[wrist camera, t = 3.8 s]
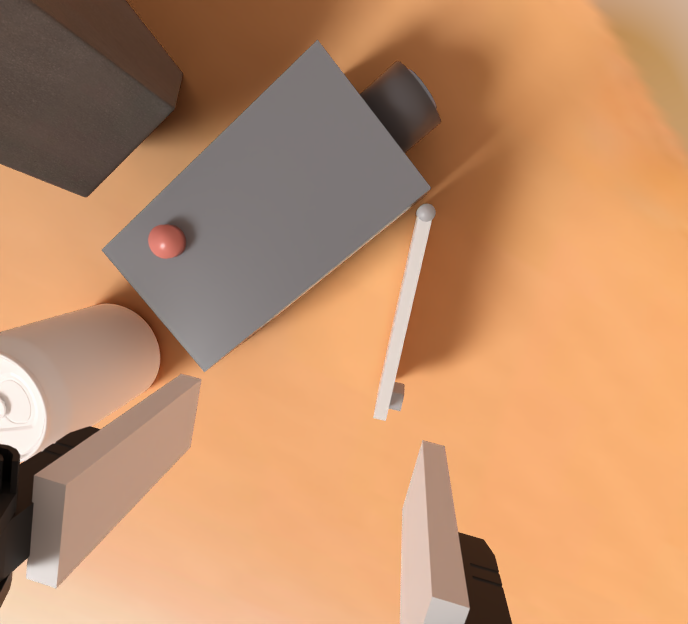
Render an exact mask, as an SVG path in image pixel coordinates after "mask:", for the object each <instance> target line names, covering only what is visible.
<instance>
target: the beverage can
mask: <svg viewBox="0 0 688 624" xmlns="http://www.w3.org/2000/svg"><path fill="white" fill-rule="evenodd" d="M159 366H160V350H159V345H158V342H157V339H156V337H155V335H154V333H153V331H152V329H151V328H150V327H149V325H148V324H147V323H146V322H145V321H144V320H143V319H142V318H141V317H140V316H139V315H138V314H136V313H135V312H133V311H132V310H130V309H128V308H126V307H123V306H120V305H116V304H99V305H95V306H91V307H87V308H84V309H80V310H77V311H73V312H70V313H66V314H63V315H59V316H55V317H52V318H48V319H45V320H41V321H38V322H34V323H31V324H27V325H23V326H20V327H16V328H13V329H9V330H6V331H2V332H0V444H4V445H9V446H11V447H13V448H16V449H17V450H18V452H19V453H20V462H22V461H26V460H28V459H29V458H31V457H32V456H34V455H35V454H37V453H39V452H40V451H42V452H43V450H44V449H45V448H46V447H48V446H50V445H51V444H55V443H56V441H57V440H59V439H61V438H62V437H64V436H65V435H67V434H68V433H70V432H73V431H76V430H79V429H82V428H85V427H88V426H91V427H92V426H93V425H95V424H96V423H98V422H99V421H101V420H102V419H104V418H105V417H107V416H108V415H110V414H111V413H113V412H114V411H116V410H117V409H119V408H121V407H122V406H124V405H125V404H127V403H128V402H130V401H131V400H133V399H134V398H136V397H137V396H139V395H140V394H142V393H143V392H144V391H146V390H147V389H148V388H149V387H150V386H151V385H152V383H153V382H154V380H155V378H156V376H157V374H158V371H159Z"/></svg>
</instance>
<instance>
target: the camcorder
mask: <svg viewBox="0 0 688 624" xmlns="http://www.w3.org/2000/svg"><path fill="white" fill-rule="evenodd" d="M436 108H437V107H436V103H435V101H434V99H433V97H432V96H431V94H430V92H429V91H428V89H427V88H426V86H425V85H424V83H423V82H422V81H421V80H420V78H419V77H418V76H417V75H416V74H415V73H414V72H413V71H412V70H410V69H407V68H406V67H405V66H404V65H403V64H402V63H401V62H399V61H396V62H395V63H394V64H393V65H392V66H390V67H389V68H388V69H387V70H386V71H385V72H384V73H383V74H382V75H381V76H380V77H378V78H377V79H376V80H375V81H374V82H373V83H372V84H371V85H370V86H369V87H367V88H366V89H365V90H364V91H363V92H362V93H361V94H359V93H358V92H357V91H356V89H355V88H354V87H353V85H352V84H351V83H350V81H349V80H348V79H347V77H346V76H345V75H344V74H343V72H342V71H341V70H340V68H339V67H338V66H337V64H336V63H335V62H334V61H333V59H332V58H331V57H330V55H329V54H328V53H327V51H326V50H325V49H324V47H323V46H322V45H321V44H320V42H319V41H318V40H317V41H316V42H315V43H314V44H313V45H312V46H311V47H310V48H309V49H308V50H306V51H305V52H304V53H303V54H302V55H301V56H300V57H299V58H298V59H297V60H296V61H295V62H294V63H293V64H292V65H291V66H290V67H289V68H288V69H287V70H286V71H285V72H284V73H283V74H282V75H281V76H280V77H279V78H278V79H277V80H276V81H275V82H274V83H273V84H272V85H271V86H269V87H268V88H267V89H266V90H265V91H264V92H263V93H262V94H261V95H260V96H259V97H258V98H257V99H256V100H255V101H254V102H253V103H252V104H251V105H250V106H249V107H248V108H247V109H246V110H245V111H244V112H243V113H242V114H241V115H240V116H239V117H238V118H237V119H236V120H235V121H234V122H233V123H231V124H230V125H229V126H228V127H227V128H226V129H225V130H224V131H223V132H222V133H221V134H220V135H219V136H218V137H217V138H216V139H215V140H214V141H213V142H212V143H211V144H210V145H209V146H208V147H207V148H206V149H205V150H204V151H203V152H202V153H201V154H200V155H199V156H198V157H197V158H196V159H194V160H193V161H192V162H191V163H190V164H189V165H188V166H187V167H186V168H185V169H184V170H183V171H182V172H181V173H180V174H179V175H178V176H177V177H176V178H175V179H174V180H173V181H172V182H171V183H170V184H169V185H168V186H167V187H166V188H165V189H164V190H163V191H162V192H161V193H160V194H159V195H158V196H156V197H155V198H154V199H153V200H152V201H151V202H150V203H149V204H148V205H147V206H146V207H145V208H144V209H143V210H142V211H141V212H140V213H139V214H138V215H137V216H136V217H135V218H134V219H133V220H132V221H131V222H130V223H129V224H128V225H127V226H126V227H125V228H124V229H123V230H122V231H121V232H119V233H118V234H117V235H116V236H115V237H114V238H113V239H112V240H111V241H110V242H109V243H108V244H107V245H106V246H105V247H104V248H103V249H102V251H103V252H104V253H105V255H106V256H107V257H108V258H109V259H110V261H111V262H112V263H113V264H114V265H115V267H116V268H117V269H118V270H119V271H120V272H121V274H122V275H123V276H124V277H125V278H126V280H127V281H128V282H129V283H130V284H131V286H132V287H133V288H134V289H135V290H136V291H137V293H138V294H139V295H140V296H141V297H142V299H143V300H144V301H145V302H146V303H147V304H148V306H149V307H150V308H151V309H152V310H153V312H154V313H155V314H156V315H157V316H158V318H159V319H160V320H161V321H162V322H163V323H164V325H165V326H166V327H167V328H168V329H169V331H170V332H171V333H172V334H173V335H174V337H175V338H176V339H177V340H178V341H179V342H180V344H181V345H182V346H183V347H184V348H185V350H186V351H187V352H188V353H189V354H190V356H191V357H192V358H193V359H194V360H195V361H196V363H197V364H198V365H199V366H200V367H201V369H202V370H203V371H204V372H205V371H206V370H208V369H209V368H210V367H212V366H213V365H214V364H216V363H217V362H218V361H220V360H221V359H222V358H224V357H225V356H226V355H228V354H229V353H230V352H231V351H233V350H234V349H235V348H237V347H238V346H239V345H241V344H242V343H243V342H245V341H246V340H247V339H248V338H249V337H251V336H252V335H253V334H254V333H256V332H257V331H258V330H259V329H261V328H262V327H263V326H264V325H266V324H267V323H268V322H269V321H271V320H272V319H273V318H275V317H276V316H277V315H279V314H280V313H281V312H283V311H284V310H285V309H286V308H288V307H289V306H290V305H291V304H292V303H294V302H295V301H296V300H297V299H299V298H300V297H301V296H302V295H304V294H305V293H306V292H307V291H309V290H310V289H311V288H312V287H313V286H315V285H316V284H317V283H318V282H320V281H321V280H322V279H323V278H325V277H326V276H327V275H328V274H330V273H331V272H332V271H333V270H335V269H336V268H337V267H338V266H339V265H341V264H342V263H343V262H344V261H346V260H347V259H348V258H349V257H351V256H352V255H353V254H354V253H356V252H357V251H358V250H359V249H360V248H362V247H363V246H364V245H365V244H367V243H368V242H369V241H370V240H372V239H373V238H374V237H375V236H377V235H378V234H379V233H380V232H382V231H383V230H384V229H385V228H386V227H388V226H389V225H390V224H391V223H393V222H394V221H395V220H396V219H398V218H399V217H400V216H401V215H403V214H404V213H405V212H406V211H407V210H409V209H410V207H411V206H413V205H414V204H415V203H416V202H418V201H419V200H420V199H421V198H423V197H424V196H425V195H426V194H427V193H428V192H429V190H430V189H431V187H430V186H429V184H428V183H427V182H426V181H425V179H424V178H423V177H422V175H421V174H420V173H419V171H418V170H417V169H416V168H415V166H414V165H413V164H412V162H411V161H410V160H409V158H408V157H407V156H406V154H405V152H406V151H408V150H409V149H410V148H411V147H412V146H414V145H415V144H416V143H417V142H418V141H419V140H421V139H422V138H423V137H424V136H425V135H427V134H428V133H429V132H430V131H431V130H432V129H434V128H435V127H436V126H437V125H438V124H440V122H441V120H440V116H439V114H438V112H437V110H436Z"/></svg>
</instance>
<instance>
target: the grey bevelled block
mask: <svg viewBox="0 0 688 624" xmlns="http://www.w3.org/2000/svg"><path fill="white" fill-rule="evenodd" d="M182 77H183V73H182V72H181V70H180V69H179V68H178V67H177V65H176V64H175V63H174V62H173V60H172V59H171V58H170V56H169V55H168V54H167V53H166V51H165V50H164V49H163V48H162V46H161V45H160V44H159V42H158V41H157V40H156V39H155V37H154V36H153V35H152V34H151V32H150V31H149V30H148V28H147V27H146V26H145V25H144V23H143V22H142V21H141V19H140V18H139V17H138V16H137V14H136V13H135V12H134V11H133V9H132V8H131V7H130V5H129V4H128V3H127V2H126V0H0V164H2V165H4V166H7V167H10V168H12V169H15V170H17V171H20V172H22V173H25V174H27V175H30V176H32V177H35V178H37V179H40V180H42V181H45V182H47V183H50V184H52V185H55V186H57V187H60V188H62V189H65V190H67V191H70V192H73V193H75V194H78V195H80V196H83V197H88V196H89V195H90V194H91V193H92V192H93V191H94V190H95V189H96V188H97V187H98V186H99V185H100V184H101V183H102V182H103V181H104V180H105V179H106V178H107V177H108V176H109V175H110V174H111V173H112V172H113V171H114V170H115V169H116V168H117V167H118V166H119V165H120V164H121V163H122V162H123V161H124V160H125V159H126V158H127V157H128V156H129V155H130V154H131V153H132V152H133V151H134V150H135V149H136V148H137V147H138V146H139V145H140V144H141V143H142V142H143V141H144V140H145V139H146V138H147V137H148V136H149V135H150V134H151V133H152V131H153V130H154V129H155V128H156V127H157V126H158V125H159V124H160V123H161V122H162V121H163V120H164V119H165V118H166V117H167V116H168V115H169V114H170V113H171V112H172V111H173V110H174V109H175V106H176V102H177V98H178V94H179V89H180V85H181V81H182Z"/></svg>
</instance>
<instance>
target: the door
mask: <svg viewBox="0 0 688 624" xmlns="http://www.w3.org/2000/svg"><path fill="white" fill-rule="evenodd" d="M435 213H436V211H435V208H434V207H433V206H432V205H431V204H423V205H421V206H420V207H419V208H418V209H417V211H416V221H415V226H414V230H413V235H412V239H411V244H410V248H409V253H408V257H407V262H406V266H405V271H404V275H403V280H402V284H401V289H400V293H399V298H398V302H397V307H396V311H395V316H394V320H393V325H392V329H391V334H390V338H389V343H388V347H387V352H386V356H385V361H384V365H383V370H382V374H381V379H380V383H379V389H378V394H377V400H376V405H375V411H374V417H373V418H376V419H380V420H384V421H386V417H387V413H388V409H393V410H398V411H400V410H401V406H402V402H403V398H404V384H402V383H397V382H395V378H396V374H397V370H398V365H399V361H400V357H401V352H402V348H403V344H404V339H405V335H406V330H407V326H408V322H409V317H410V313H411V309H412V304H413V300H414V296H415V291H416V287H417V283H418V278H419V274H420V270H421V265H422V261H423V257H424V252H425V248H426V244H427V239H428V235H429V231H430V226H431V222H432V219H433V218H434V217H435Z"/></svg>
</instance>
